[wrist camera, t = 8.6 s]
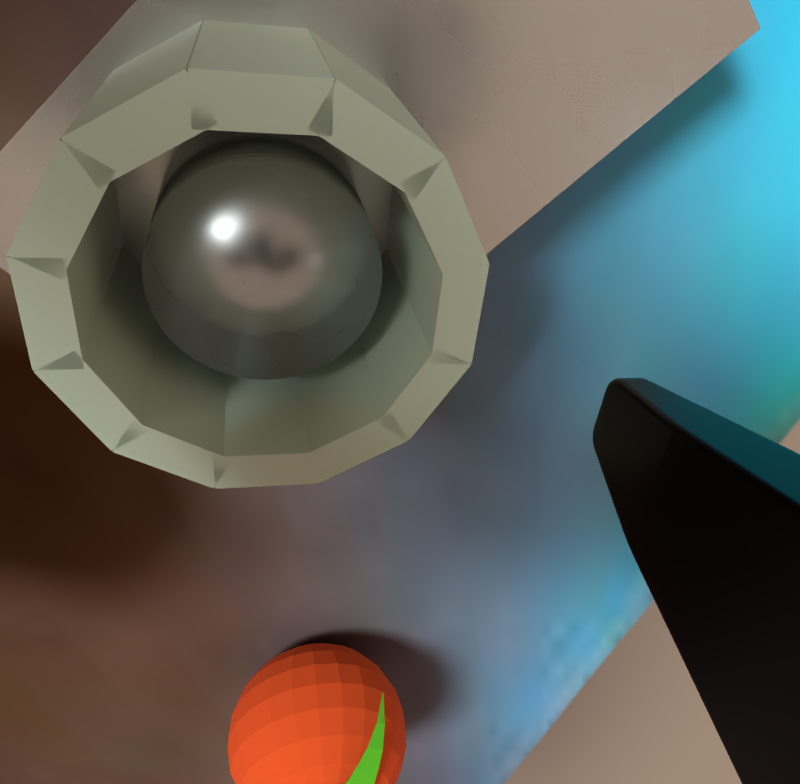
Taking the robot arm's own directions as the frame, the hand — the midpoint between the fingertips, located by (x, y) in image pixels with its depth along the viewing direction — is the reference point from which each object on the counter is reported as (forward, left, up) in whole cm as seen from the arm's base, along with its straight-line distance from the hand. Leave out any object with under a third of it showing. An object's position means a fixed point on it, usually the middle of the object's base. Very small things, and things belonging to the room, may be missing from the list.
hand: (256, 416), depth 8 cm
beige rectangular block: (+1, +3, -12) cm, 12 cm away
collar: (+1, 0, -9) cm, 9 cm away
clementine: (+17, -13, -12) cm, 25 cm away
